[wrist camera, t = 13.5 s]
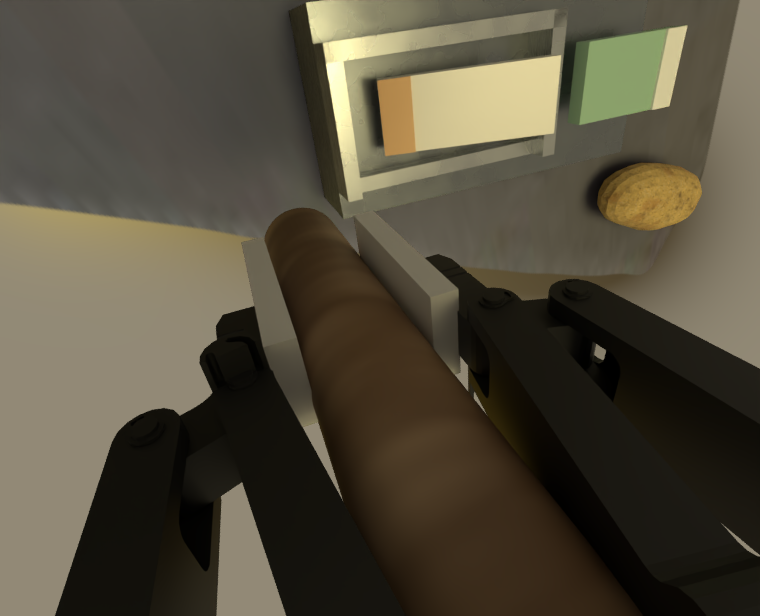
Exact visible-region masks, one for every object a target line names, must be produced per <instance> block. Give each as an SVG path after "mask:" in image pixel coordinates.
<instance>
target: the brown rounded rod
mask: <svg viewBox="0 0 760 616" xmlns="http://www.w3.org/2000/svg"><path fill="white" fill-rule="evenodd" d="M264 241H265V244H266V247H267V250H268V253H269V256H270V259H271V262H272V265H273V268H274V271H275V274H276V277H277V280H278V283H279V286H280V289H281V292H282V295H283V298H284V301H285V304H286V307H287V310H288V313H289V316H290V319H291V322H292V325H293V328H294V331H295V334H296V337H297V340H298V344H299V348H300V351H301V355H302V358H303V362H304V365H305V369H306V373H307V376H308V380H309V383H310V387H311V390H312V402H313V407H314V410H315V413H316V416H317V419H318V423H319V425H320V429H321V432H322V435H323V438H324V442H325V445H326V448H327V451H328V454H329V457H330V461H331V464H332V467H333V470H334V473H335V476H336V480H337V483H338V486H339V489H340V492H341V495H342V499H343V502H344V504H345V506H346V508H347V509H348V511H349V513H350V515H351V517H352V519H353V520H354V522H355V524H356V526H357V528H358V529H359V531H360V533H361V535H362V537H363V539H364V540H365V542H366V544H367V546H368V548H369V550H370V551H371V553H372V555H373V557H374V559H375V560H376V562H377V564H378V566H379V568H380V570H381V571H382V573H383V575H384V577H385V579H386V581H387V582H388V584H389V586H390V588H391V590H392V591H393V593H394V595H395V597H396V599H397V601H398V602H399V604H400V606H401V608H402V610H403V612H404V613H405V615H406V616H643V615H642V613H641V612H640V611H639V609H638V608H637V606H636V605H635V603H634V602H633V601H632V599H631V598H630V597H629V595H628V594H627V593H626V591H625V590H624V588H623V587H622V586H621V584H620V583H619V582H618V580H617V579H616V578H615V576H614V575H613V574H612V572H611V571H610V570H609V568H608V567H607V566H606V564H605V563H604V562H603V560H602V559H601V558H600V556H599V555H598V554H597V552H596V551H595V550H594V548H593V547H592V546H591V545H590V543H589V542H588V541H587V540H586V538H585V537H584V536H583V535H582V533H581V532H580V531H579V530H578V528H577V527H576V526H575V525H574V523H573V522H572V521H571V520H570V518H569V517H568V516H567V515H566V513H565V512H564V511H563V510H562V508H561V507H560V506H559V505H558V503H557V502H556V501H555V500H554V498H553V497H552V496H551V495H550V493H549V492H548V491H547V490H546V488H545V487H544V486H543V485H542V483H541V482H540V481H539V480H538V478H537V477H536V476H535V475H534V473H533V472H532V471H531V470H530V468H529V467H528V466H527V465H526V463H525V462H524V461H523V460H522V458H521V457H520V456H519V455H518V453H517V452H516V451H515V450H514V448H513V447H512V446H511V445H510V443H509V442H508V441H507V440H506V438H505V437H504V436H503V435H502V433H501V432H500V431H499V430H498V428H497V427H496V426H495V425H494V423H493V422H492V421H491V420H490V418H489V417H488V416H487V415H486V413H485V412H484V411H483V410H482V409H481V407H480V406H479V405H478V403H477V402H476V401H475V400H474V398H473V397H472V396H471V395H470V393H469V392H468V391H467V390H466V389H465V387H464V386H463V385H462V383H461V382H460V381H459V380H458V379H457V377H456V376H455V375H454V373H453V372H452V371H451V370H450V368H449V367H448V366H447V365H446V363H445V362H444V361H443V360H442V358H441V357H440V356H439V355H438V353H437V352H436V351H435V350H434V348H433V347H432V346H431V345H430V343H429V342H428V341H427V340H426V339H425V337H424V336H423V335H422V334H421V332H420V331H419V330H418V329H417V327H416V326H415V325H414V324H413V322H412V321H411V320H410V319H409V317H408V316H407V315H406V314H405V312H404V311H403V310H402V309H401V307H400V306H399V305H398V304H397V302H396V301H395V300H394V299H393V297H392V296H391V295H390V294H389V292H388V291H387V290H386V289H385V287H384V286H383V285H382V284H381V282H380V281H379V280H378V279H377V277H376V276H375V275H374V274H373V272H372V271H371V270H370V269H369V267H368V266H367V265H366V264H365V262H364V261H363V260H362V259H361V257H360V256H359V255H358V254H357V252H356V251H355V250H354V249H353V247H352V246H351V245H350V244H349V242H348V241H347V240H346V239H345V237H344V236H343V235H342V234H341V232H340V231H339V230H338V229H337V227H336V226H335V225H334V224H333V222H332V221H331V220H330V219H329V218H328V217H327V216H326V215H324V214H323V213H321V212H319V211H317V210H314V209H310V208H296V209H292V210H289V211H286V212H284V213H282V214H281V215H279V216H278V217H277V218H276V219H275V220H274V221H273V222H272V223H271V225H270V226H269V228H268V230H267V232H266V235H265V239H264Z"/></svg>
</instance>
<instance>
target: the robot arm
mask: <svg viewBox="0 0 760 616" xmlns="http://www.w3.org/2000/svg"><path fill="white" fill-rule="evenodd" d="M353 216H354V222H355V229H356V235H357V241H358V247H359V253H360V257H361V259H362V260H363V261H364V262H365V264H366V265H367V266H368V267H369V269H370V270H371V271H372V272H373V274H374V275H375V276H376V277H377V279H378V280H379V281H380V282H381V284H382V285H383V286H384V287H385V289H386V290H387V291H388V292H389V294H390V295H391V296H392V297H393V299H394V300H395V301H396V302H397V304H398V305H399V306H400V307H401V309H402V310H403V311H404V312H405V314H406V315H407V316H408V317H409V319H410V320H411V321H412V322H413V324H414V325H415V326H416V327H417V329H418V330H419V331H420V332H421V334H422V335H423V336H424V337H425V339H426V340H427V341H428V342H429V343H430V345H431V346H432V347H433V348H434V350H435V351H436V352H437V353H438V355H439V356H440V357H441V358H442V360H443V361H444V362H445V363H446V365H447V366H448V367H449V368H450V370H451V371H452V372H453V373H454V375H455V374H458V373H460V357H461V358H462V359H463V360H464V361H465V362H466V364H467V365H468V392H469V393H470V395H471V396H472V397H473V398H474V392H475V393H476V395H477V397H478V399H479V400H480V402H481V404H482V406H483V408H484V409H485V412H486V414H487V416H488V417H489V418H490V420H491V421H492V422H493V423H494V425H495V426H496V427H497V428H498V430H499V431H500V432H501V433H502V435H503V436H504V437H505V438H506V440H507V441H508V442H509V443H510V445H511V446H512V447H513V448H514V450H515V451H516V452H517V453H518V455H519V456H520V457H521V458H522V460H523V461H524V462H525V463H526V465H527V466H528V467H529V468H530V470H531V471H532V472H533V473H534V475H535V476H536V477H537V478H538V480H539V481H540V482H541V483H542V485H543V486H544V487H545V488H546V490H547V491H548V492H549V493H550V495H551V496H552V497H553V498H554V500H555V501H556V502H557V503H558V505H559V506H560V507H561V508H562V510H563V511H564V512H565V513H566V515H567V516H568V517H569V518H570V520H571V521H572V522H573V523H574V525H575V526H576V527H577V528H578V530H579V531H580V532H581V533H582V535H583V536H584V537H585V538H586V540H587V541H588V542H589V543H590V545H591V546H592V547H593V548H594V550H595V551H596V552H597V554H598V555H599V556H600V558H601V559H602V560H603V562H604V563H605V564H606V566H607V567H608V568H609V570H610V571H611V572H612V574H613V575H614V576H615V578H616V579H617V580H618V582H619V583H620V584H621V586H622V587H623V588H624V590H625V591H626V593H627V594H628V595H629V597H630V598H631V599H632V601H633V602H634V603H635V605H636V606H637V608H638V609H639V611H640V612H641V613H642V615H643V616H760V557H758V556H756V555H754V554H752V553H751V552H749V551H747V550H746V549H745V548H744V547H743V546H742V545H741V544H740V543H738V542H737V541H736V539H735V538H734V537H733V536H732V535H731V534H730V533H729V532H728V530H727V529H726V528H725V527H724V526H726V527H727V528H728V529H729V530H730V531H732V532H733V533H734V534H735V535H736V536H738V537H739V538H740V539H741V540H742V541H744V542H745V543H746V544H747V545H748V546H750V547H751V548H752V549H753V550H754V551H756V552H757V553H758V554H759V555H760V369H759V368H757V367H755V366H753V365H752V364H750V363H748V362H746V361H744V360H742V359H740V358H738V357H736V356H734V355H732V354H730V353H728V352H726V351H724V350H723V349H721V348H719V347H716V346H715V345H713V344H711V343H709V342H707V341H705V340H703V339H701V338H699V337H697V336H695V335H693V334H692V333H689V332H688V331H686V330H684V329H682V328H680V327H678V326H676V325H674V324H672V323H670V322H668V321H666V320H664V319H662V318H661V317H659V316H657V315H655V314H653V313H651V312H649V311H647V310H645V309H643V308H641V307H639V306H637V305H635V304H633V303H631V302H630V301H628V300H626V299H624V298H622V297H619V296H618V295H616V294H614V293H612V292H610V291H608V290H606V289H604V288H602V287H600V286H598V285H596V284H594V283H591V282H588V281H584V280H579V279H567V280H562V281H558V282H556V283H554V284H553V285H551V287H550V289H549V295H548V299H537V300H526V301H522V300H521V299H520V298H519V297H518V296H517V295H516V294H514V293H513V292H511V291H509V290H506V289H502V288H486V287H485V286H484V285H483V284H482V283H480V282H479V281H478V280H477V279H475V278H474V277H473V276H472V275H471V274H469V273H467V272H466V271H465V270H464V269H463V268H462V267H460V265H458V264H457V263H456V262H455V261H453V260H452V259H451V258H448V257H445V256H442V255H439V254H437V255H434V256H430V257H426V258H424V257H423V256H422V255H421V254H420V253H419V252H418V251H416V250H415V249H414V248H413V247H412V246H411V245H410V244H409V243H408V242H407V241H405V240H404V239H403V238H402V237H401V236H400V235H399V234H398V233H397V232H396V231H395V230H393V229H392V228H391V227H390V226H389V225H388V224H387V223H386V222H385V221H384V220H383V219H381V218H380V217H379V216H378V215H377V214H376V213H375V212H374V211H369V212H365V213H361V214H356V215H353ZM242 247H243V253H244V257H245V262H246V267H247V272H248V277H249V282H250V286H251V291H252V296H253V301H254V306H253V307H250V308H246V309H242V310H239V311H235V312H231V313H228V314H224V315H222V317H221V319H220V321H219V322H218V324H217V325H216V335H217V340H216V341H214V342H213V343H211V344H210V345H209V346H208V347H206V348H205V349H204V351H203V352H202V354H201V356H200V365H201V367H202V370H203V372H204V374H205V376H206V378H207V381H208V383H209V385H210V388H211V390H212V392H213V393H212V394H211V396H210V397H208V399H206V400H205V401H204V402H203V403H201V404H200V405H198V406H197V407H195V408H193V409H191V410H190V411H188V412H186V413H184V414H182V415H181V416H179V415H178V414H177V413H176V412H175V411H174V410H170V409H165V408H162V409H155V410H151V411H148V412H146V413H143V414H140V415H139V416H137V417H135V418H134V419H132V420H131V421H129V422H127V423H126V425H124V426H123V427H122V428H121V429H120V430H119V431H118V433H117V434H116V436H115V438H114V440H113V441H112V444H111V447H110V450H109V453H108V456H107V459H106V462H105V465H104V468H103V471H102V474H101V477H100V480H99V483H98V486H97V490H96V493H95V496H94V499H93V502H92V505H91V508H90V511H89V514H88V517H87V520H86V523H85V526H84V529H83V533H82V535H81V538H80V541H79V544H78V547H77V550H76V553H75V557H74V559H73V562H72V566H71V569H70V572H69V575H68V578H67V581H66V584H65V587H64V590H63V593H62V596H61V599H60V602H59V605H58V608H57V611H56V615H55V616H216V610H217V586H218V565H219V542H220V519H221V496H222V495H223V494H225V493H226V492H228V491H229V490H231V489H232V488H234V487H235V486H237V485H238V484H240V483H241V482H242V483H243V486H244V489H245V492H246V495H247V498H248V501H249V504H250V507H251V510H252V513H253V516H254V519H255V522H256V525H257V528H258V531H259V534H260V538H261V541H262V544H263V547H264V550H265V553H266V555H267V558H268V562H269V565H270V568H271V571H272V574H273V577H274V580H275V583H276V586H277V589H278V592H279V595H280V598H281V601H282V604H283V607H284V610H285V613H286V616H406V615H405V613H404V612H403V610H402V608H401V606H400V604H399V602H398V601H397V599H396V597H395V595H394V593H393V591H392V590H391V588H390V586H389V584H388V582H387V581H386V579H385V577H384V575H383V573H382V571H381V570H380V568H379V566H378V564H377V562H376V560H375V559H374V557H373V555H372V553H371V551H370V550H369V548H368V546H367V544H366V542H365V540H364V539H363V537H362V535H361V533H360V531H359V529H358V528H357V526H356V524H355V522H354V520H353V519H352V517H351V515H350V513H349V511H348V509H347V508H346V506H345V504H344V502H343V501H342V499H341V497H340V495H339V493H338V491H337V489H336V488H335V486H334V484H333V482H332V480H331V478H330V477H329V475H328V473H327V471H326V469H325V467H324V466H323V464H322V462H321V460H320V458H319V457H318V455H317V453H316V451H315V449H314V447H313V446H312V444H311V442H310V440H309V438H308V437H307V435H306V433H305V431H304V429H303V427H305V426H308V425H311V424H314V423H317V422H318V419H317V416H316V413H315V410H314V407H313V402H312V390H311V387H310V383H309V380H308V376H307V373H306V369H305V365H304V362H303V358H302V355H301V351H300V348H299V344H298V340H297V337H296V334H295V331H294V328H293V325H292V322H291V319H290V316H289V313H288V310H287V307H286V304H285V301H284V298H283V295H282V292H281V289H280V286H279V283H278V280H277V277H276V274H275V271H274V268H273V265H272V262H271V259H270V256H269V253H268V250H267V247H266V244H265V241H264V238H263V237H261V238H257V239H253V240H249V241H245V242H242ZM596 344H598V345H599V346H600V347H602V348H604V349H605V350H606V354H605V358H604V360H601V359H599V358H597V357H596V356H594V352H595V347H596ZM720 522H721V523H722V524H723V525H724V526H723V525H722V524H721V523H720Z"/></svg>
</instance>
